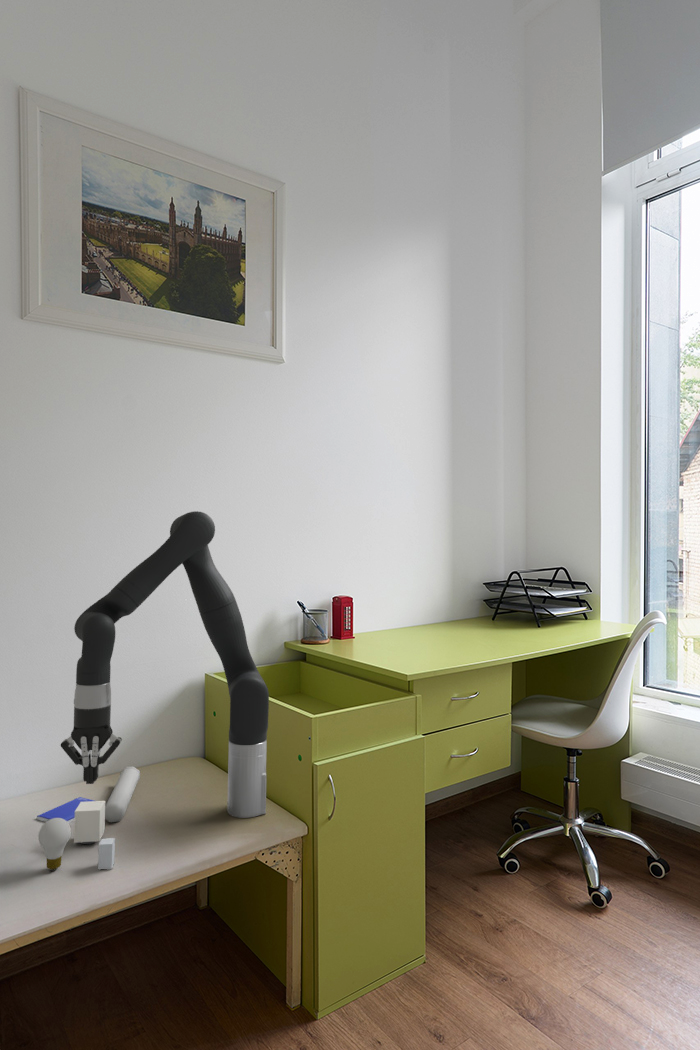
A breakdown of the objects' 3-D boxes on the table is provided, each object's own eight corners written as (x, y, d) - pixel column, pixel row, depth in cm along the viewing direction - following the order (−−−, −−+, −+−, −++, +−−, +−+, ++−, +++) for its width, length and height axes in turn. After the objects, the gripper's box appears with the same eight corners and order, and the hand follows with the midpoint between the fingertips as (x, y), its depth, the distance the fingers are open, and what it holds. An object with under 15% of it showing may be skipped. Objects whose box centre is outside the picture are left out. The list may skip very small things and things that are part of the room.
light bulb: (75, 869, 130) (76, 818, 130) (45, 880, 125) (46, 828, 125) (61, 859, 133) (63, 810, 134) (32, 869, 129) (33, 819, 129)
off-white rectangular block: (104, 830, 145) (105, 800, 145) (99, 841, 140) (100, 810, 140) (80, 831, 144) (80, 801, 144) (73, 842, 139) (74, 811, 139)
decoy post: (114, 862, 132) (114, 838, 133) (111, 869, 130) (112, 843, 130) (100, 863, 132) (101, 838, 132) (98, 870, 129) (98, 844, 130)
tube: (127, 807, 151) (143, 769, 176) (105, 801, 150) (123, 763, 175) (119, 829, 151) (136, 788, 175) (97, 823, 150) (116, 782, 174)
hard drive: (78, 796, 164) (36, 815, 153) (102, 802, 160) (61, 821, 149) (78, 802, 164) (36, 821, 152) (102, 808, 160) (61, 828, 149)
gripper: (127, 698, 147) (125, 775, 147) (65, 699, 145) (63, 777, 145) (120, 706, 140) (118, 787, 139) (56, 708, 138) (53, 790, 137)
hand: (90, 782), depth 142 cm, fingers closed
